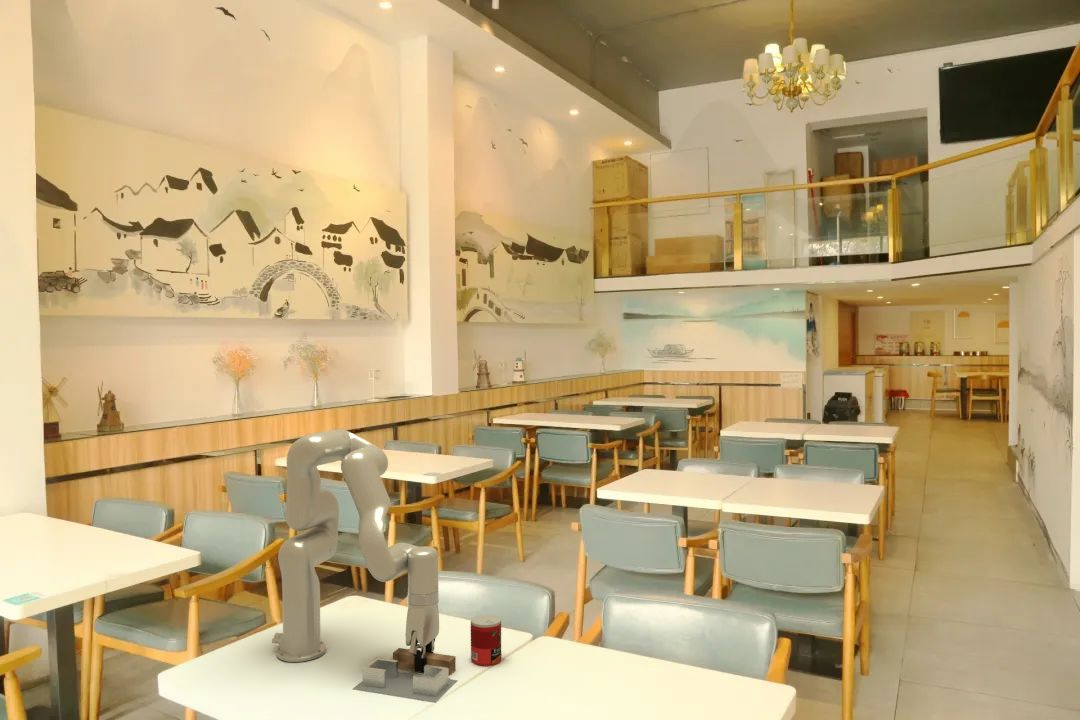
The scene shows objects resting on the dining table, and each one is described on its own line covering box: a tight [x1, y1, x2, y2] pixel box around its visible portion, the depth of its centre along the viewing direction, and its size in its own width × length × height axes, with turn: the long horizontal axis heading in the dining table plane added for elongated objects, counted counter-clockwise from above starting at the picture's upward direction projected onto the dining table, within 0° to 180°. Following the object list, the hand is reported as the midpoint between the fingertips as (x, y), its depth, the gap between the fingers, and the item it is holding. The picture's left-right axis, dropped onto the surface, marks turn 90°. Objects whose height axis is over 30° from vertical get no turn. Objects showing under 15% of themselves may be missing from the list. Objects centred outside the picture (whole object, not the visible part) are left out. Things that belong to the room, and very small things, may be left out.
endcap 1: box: [361, 657, 399, 688], centre depth 180 cm, size 6×7×4 cm
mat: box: [352, 670, 458, 704], centre depth 178 cm, size 22×12×1 cm, turn 71°
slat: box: [392, 647, 457, 677], centre depth 187 cm, size 16×3×4 cm, turn 71°
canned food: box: [470, 614, 502, 667], centre depth 192 cm, size 8×8×11 cm
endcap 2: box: [413, 665, 450, 697], centre depth 176 cm, size 6×7×4 cm
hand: (424, 669), depth 187 cm, fingers closed on slat, 3 cm apart
